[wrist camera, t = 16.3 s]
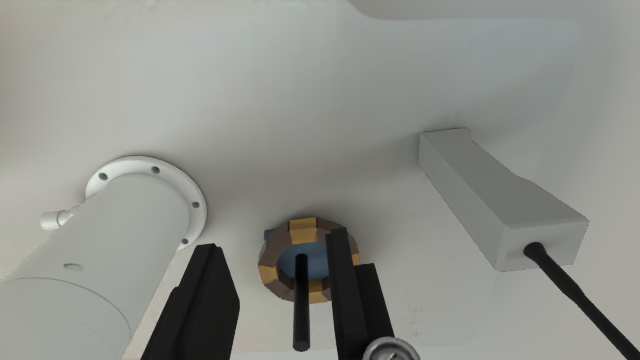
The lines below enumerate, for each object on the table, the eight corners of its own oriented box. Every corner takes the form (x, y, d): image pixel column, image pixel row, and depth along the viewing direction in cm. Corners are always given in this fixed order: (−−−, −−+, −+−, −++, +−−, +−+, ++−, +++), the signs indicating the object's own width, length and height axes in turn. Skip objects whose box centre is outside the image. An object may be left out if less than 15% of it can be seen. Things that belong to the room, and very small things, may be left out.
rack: (276, 277, 43) (266, 376, 31) (264, 230, 39) (249, 323, 28) (335, 270, 43) (347, 367, 31) (329, 222, 39) (341, 312, 28)
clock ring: (271, 296, 43) (269, 308, 41) (251, 224, 37) (249, 235, 35) (360, 285, 43) (362, 297, 41) (354, 212, 37) (356, 222, 35)
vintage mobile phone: (461, 158, 36) (716, 404, 14) (416, 163, 36) (600, 416, 14) (465, 126, 34) (767, 350, 12) (418, 131, 34) (633, 365, 12)
